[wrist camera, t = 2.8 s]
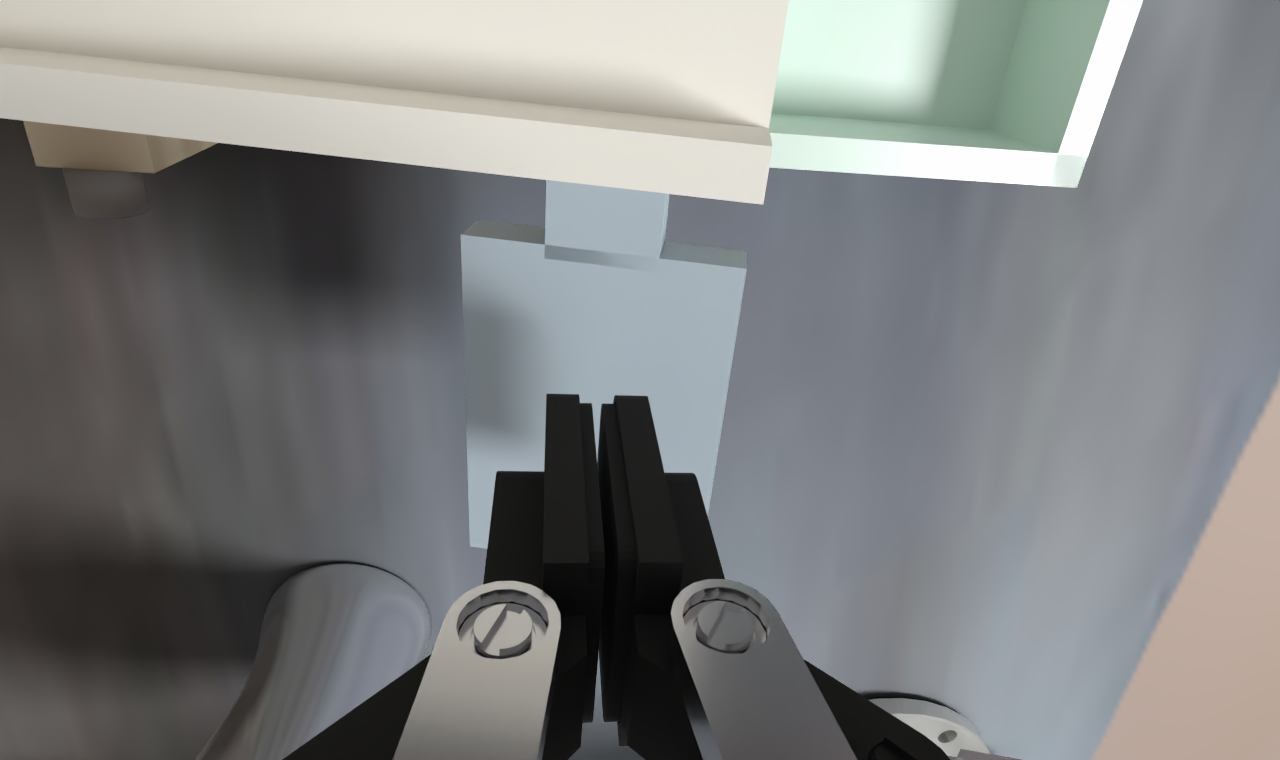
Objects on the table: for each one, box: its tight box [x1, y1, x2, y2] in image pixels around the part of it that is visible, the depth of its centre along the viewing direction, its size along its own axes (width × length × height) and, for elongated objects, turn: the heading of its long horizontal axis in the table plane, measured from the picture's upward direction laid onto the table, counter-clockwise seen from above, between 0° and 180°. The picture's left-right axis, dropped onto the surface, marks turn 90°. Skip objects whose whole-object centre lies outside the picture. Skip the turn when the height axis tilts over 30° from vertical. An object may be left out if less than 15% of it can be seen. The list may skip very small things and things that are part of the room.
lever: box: [0, 0, 789, 549], centre depth 14 cm, size 24×14×5 cm, turn 85°
